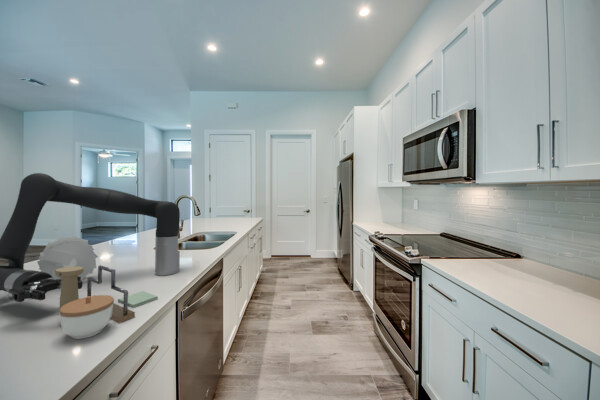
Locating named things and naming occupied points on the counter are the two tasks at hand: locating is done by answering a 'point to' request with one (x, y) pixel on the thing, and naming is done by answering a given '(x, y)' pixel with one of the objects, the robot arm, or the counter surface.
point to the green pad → (139, 299)
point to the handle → (69, 283)
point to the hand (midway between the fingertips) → (63, 290)
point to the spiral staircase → (67, 256)
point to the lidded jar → (86, 316)
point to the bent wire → (118, 312)
